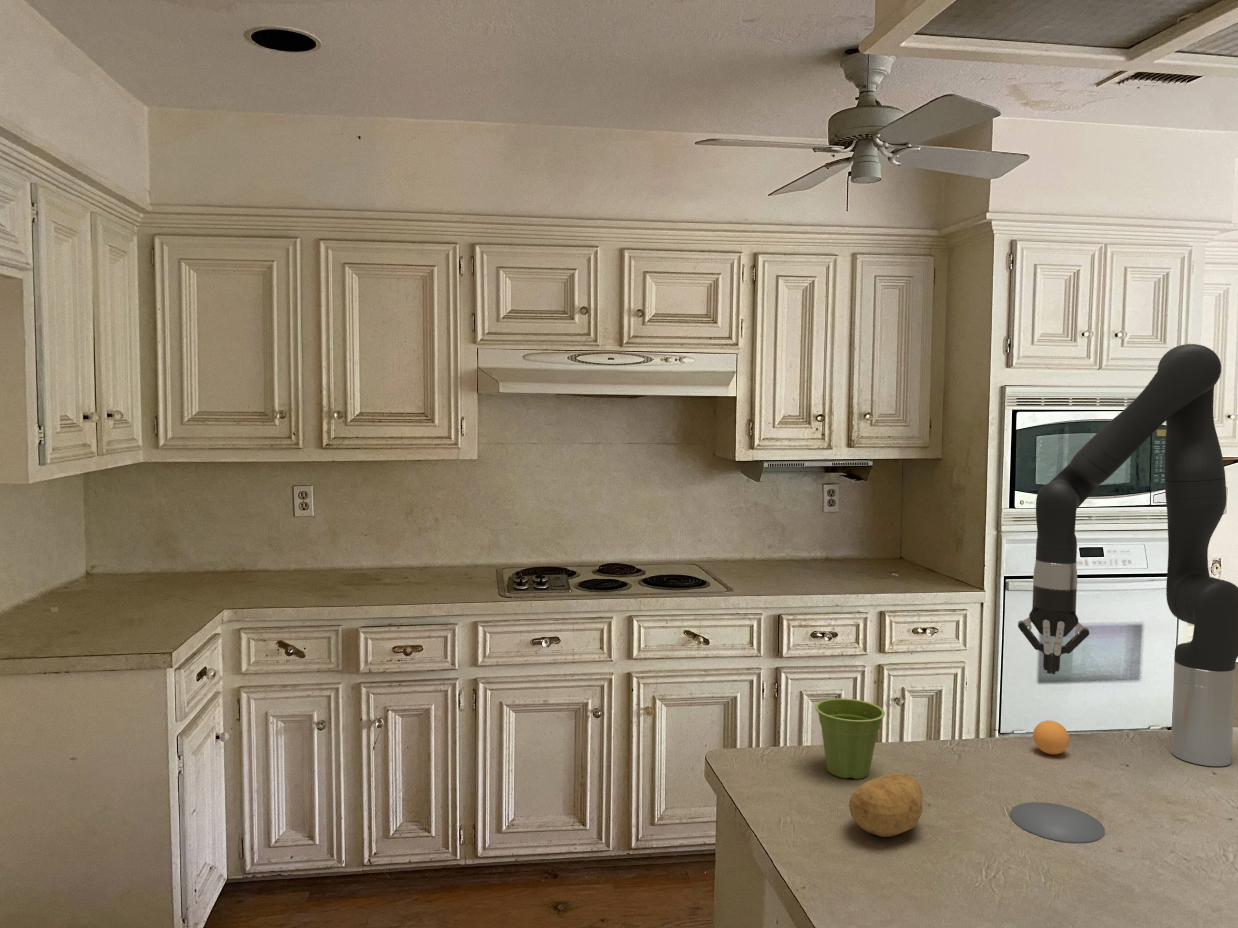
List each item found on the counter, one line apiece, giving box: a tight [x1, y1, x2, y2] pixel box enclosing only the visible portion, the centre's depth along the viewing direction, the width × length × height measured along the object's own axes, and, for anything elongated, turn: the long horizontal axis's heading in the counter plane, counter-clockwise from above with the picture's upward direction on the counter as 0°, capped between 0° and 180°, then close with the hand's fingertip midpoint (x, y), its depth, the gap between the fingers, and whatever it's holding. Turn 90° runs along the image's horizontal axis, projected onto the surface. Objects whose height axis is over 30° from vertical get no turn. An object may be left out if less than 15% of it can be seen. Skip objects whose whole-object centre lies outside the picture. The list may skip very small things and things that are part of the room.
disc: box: [1009, 801, 1105, 844], centre depth 135 cm, size 13×13×1 cm
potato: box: [848, 772, 924, 838], centre depth 132 cm, size 10×14×8 cm
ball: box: [1032, 720, 1070, 755], centre depth 162 cm, size 6×6×6 cm
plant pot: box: [814, 697, 886, 780], centre depth 153 cm, size 12×12×11 cm
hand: (1051, 672), depth 169 cm, fingers closed
